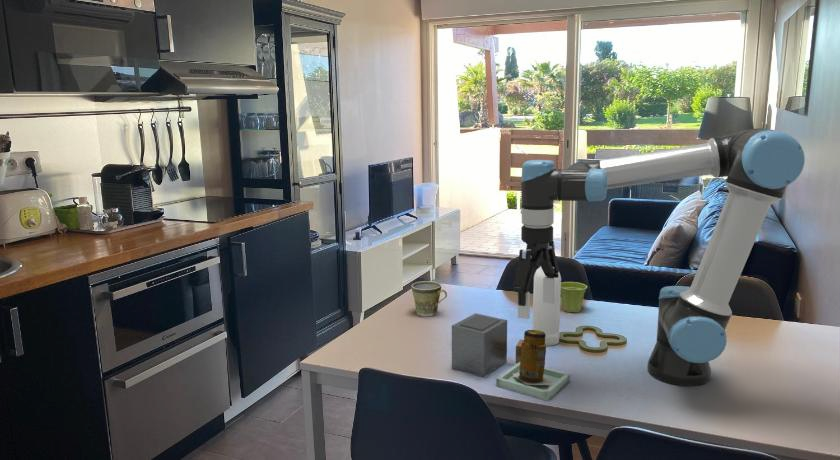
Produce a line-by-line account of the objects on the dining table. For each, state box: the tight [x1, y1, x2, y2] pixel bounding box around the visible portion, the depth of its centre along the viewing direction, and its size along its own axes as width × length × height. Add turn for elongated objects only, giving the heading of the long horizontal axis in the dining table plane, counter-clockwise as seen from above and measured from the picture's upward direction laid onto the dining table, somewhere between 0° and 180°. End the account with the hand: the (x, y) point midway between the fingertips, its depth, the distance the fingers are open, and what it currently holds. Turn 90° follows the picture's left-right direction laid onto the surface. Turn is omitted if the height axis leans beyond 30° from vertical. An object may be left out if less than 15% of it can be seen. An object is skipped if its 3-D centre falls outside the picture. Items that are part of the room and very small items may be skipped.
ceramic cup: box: [411, 280, 448, 317], centre depth 209 cm, size 13×10×10 cm
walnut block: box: [515, 339, 524, 364], centre depth 171 cm, size 5×5×5 cm
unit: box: [451, 313, 508, 378], centre depth 168 cm, size 10×12×12 cm
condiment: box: [513, 329, 553, 385], centre depth 156 cm, size 7×8×12 cm
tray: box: [495, 362, 571, 402], centre depth 158 cm, size 14×13×2 cm
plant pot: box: [560, 281, 588, 314], centre depth 212 cm, size 9×9×9 cm
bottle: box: [531, 242, 562, 347], centre depth 183 cm, size 8×8×30 cm
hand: (536, 310), depth 154 cm, fingers open, 13 cm apart
